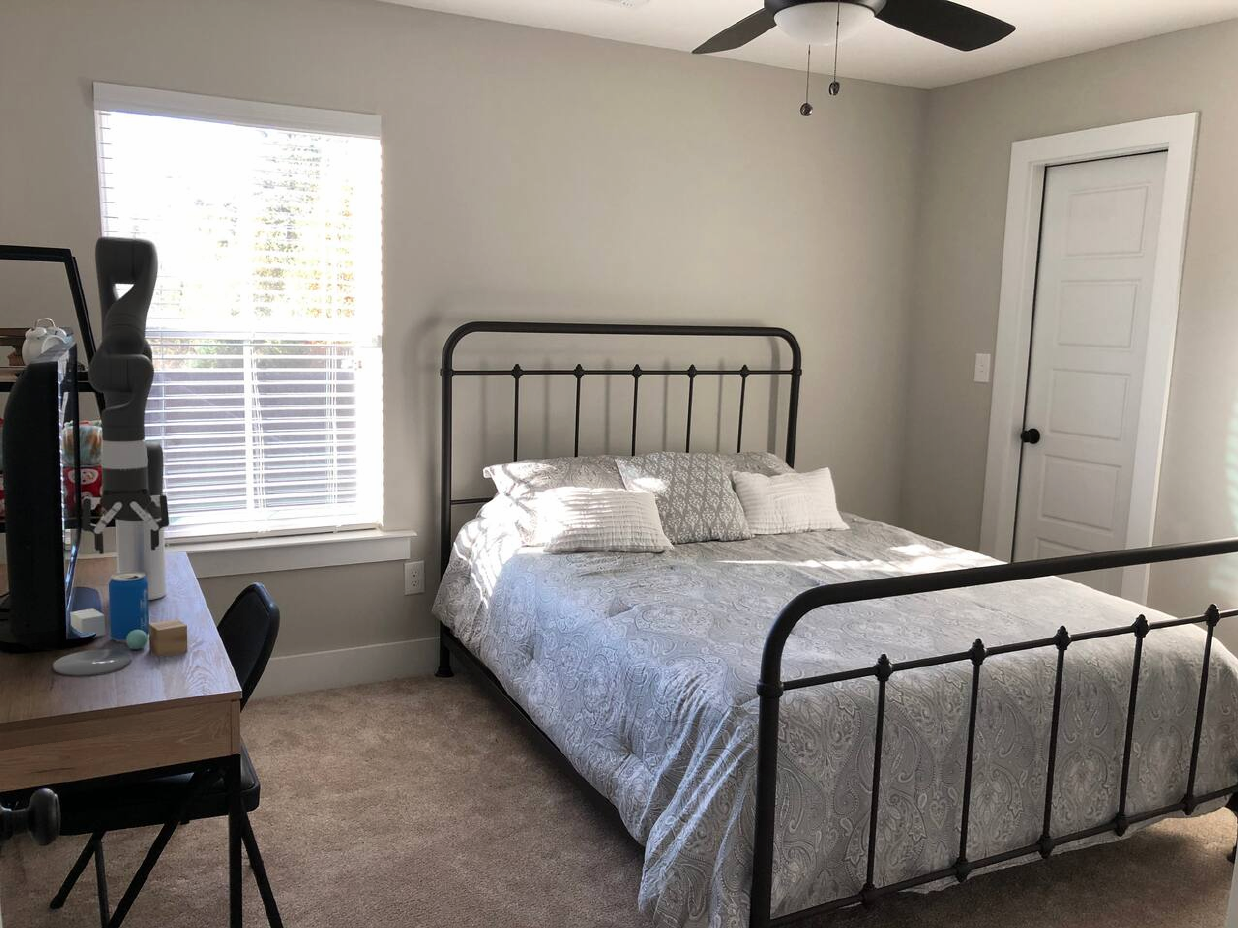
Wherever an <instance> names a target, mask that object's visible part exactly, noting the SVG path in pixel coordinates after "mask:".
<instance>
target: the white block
mask: <svg viewBox="0 0 1238 928" xmlns="http://www.w3.org/2000/svg"><path fill="white" fill-rule="evenodd" d="M69 614H70V627H71V626H72V627H73V628H74V629H76V630H77V631H78V632H80V633H82V634H85V633H91V632H93V633H94V632H95V633H96V636H95V637H94V638H96V637H97V638H99V637H101V636H106V621H105V620H106V618H105V616H106V615H105V614H103V613H102V612H100V611H99V610H97V609H95V608H86V609H81V610H80V609H79V610H75V611H70V613H69Z"/></svg>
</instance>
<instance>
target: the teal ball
mask: <svg viewBox="0 0 1238 928" xmlns="http://www.w3.org/2000/svg"><path fill="white" fill-rule="evenodd" d="M148 641H149V636H148V635H146V633H145V632H144V631H142V630H134V631H132V632H130V633H129V634H128V636H127V638H126V644H127V646H128V647H129V649H132V650H141V649H143V648H145V646H146V645H147V644H148Z"/></svg>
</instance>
